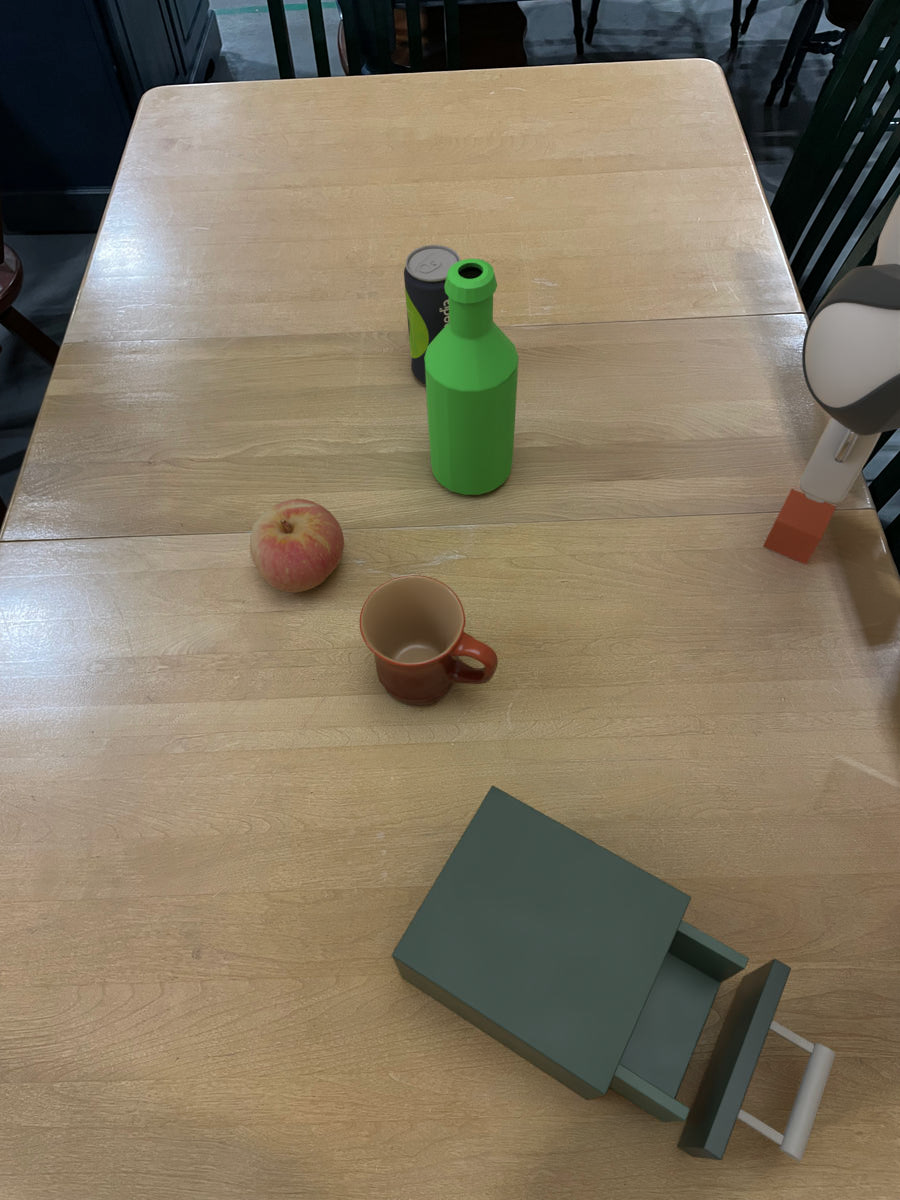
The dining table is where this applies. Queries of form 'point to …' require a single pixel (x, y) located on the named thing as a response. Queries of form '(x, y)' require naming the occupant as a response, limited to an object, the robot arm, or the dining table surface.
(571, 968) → the cabinet
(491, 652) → the mug
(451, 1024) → the dining table surface
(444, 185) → the dining table surface
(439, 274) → the beverage can
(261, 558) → the apple
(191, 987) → the dining table surface
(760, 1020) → the drawer
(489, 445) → the bottle
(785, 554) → the block
